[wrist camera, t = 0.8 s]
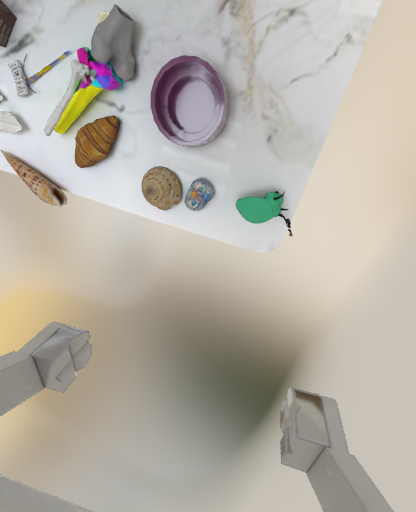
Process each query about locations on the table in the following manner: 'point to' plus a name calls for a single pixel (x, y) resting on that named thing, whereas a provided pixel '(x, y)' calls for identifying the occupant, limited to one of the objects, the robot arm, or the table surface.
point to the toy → (262, 208)
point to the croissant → (95, 140)
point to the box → (5, 23)
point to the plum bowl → (189, 101)
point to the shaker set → (8, 122)
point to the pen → (44, 69)
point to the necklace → (19, 78)
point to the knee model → (96, 68)
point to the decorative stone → (198, 194)
